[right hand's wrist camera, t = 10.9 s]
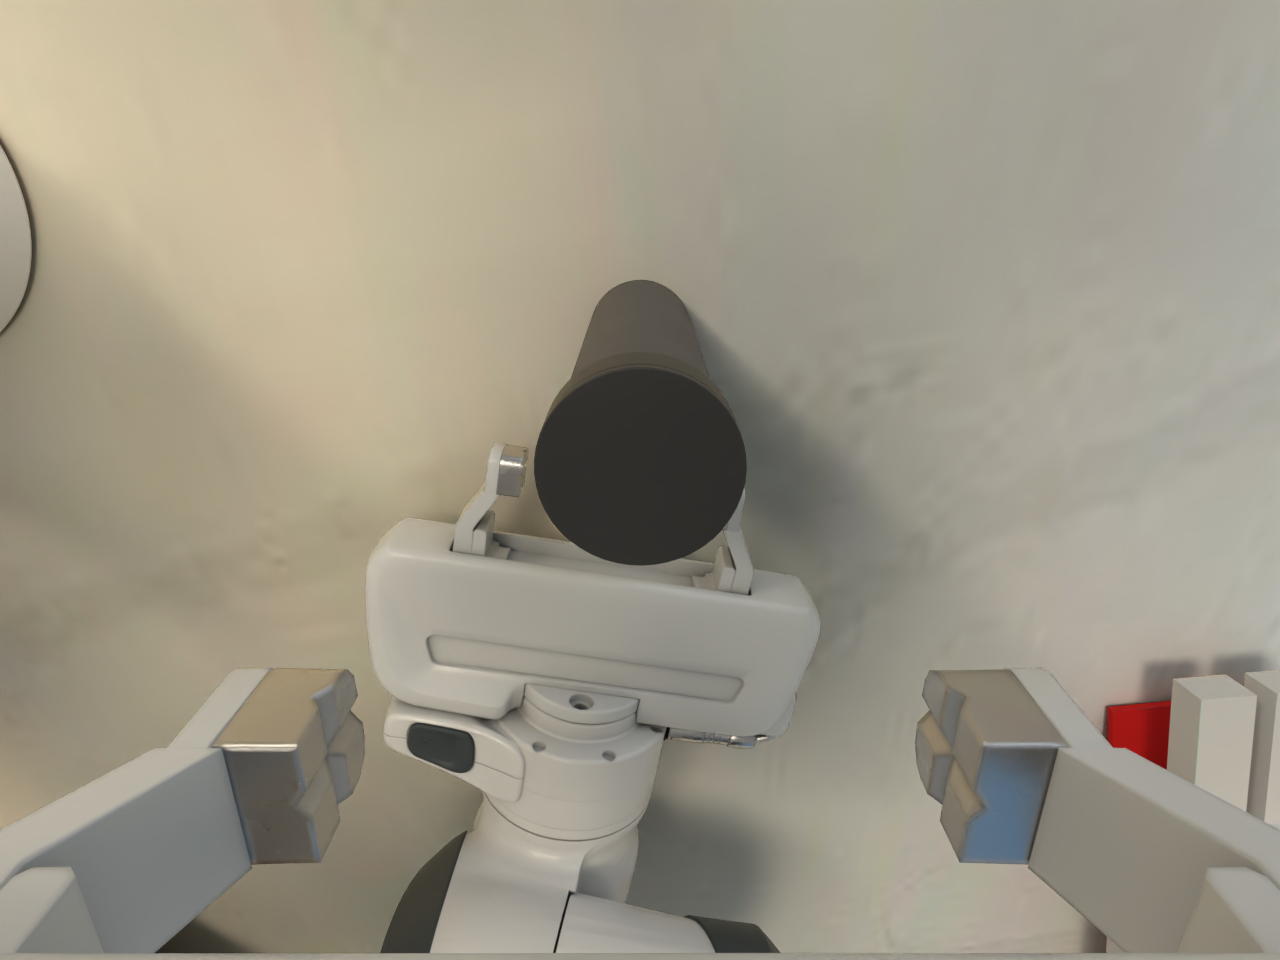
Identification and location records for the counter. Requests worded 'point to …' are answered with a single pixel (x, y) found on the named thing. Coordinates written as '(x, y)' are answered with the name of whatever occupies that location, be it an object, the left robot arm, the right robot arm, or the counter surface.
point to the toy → (1212, 739)
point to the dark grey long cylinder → (640, 326)
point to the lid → (640, 459)
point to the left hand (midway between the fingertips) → (619, 465)
